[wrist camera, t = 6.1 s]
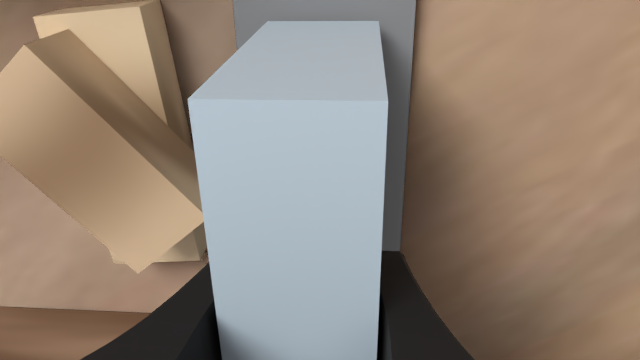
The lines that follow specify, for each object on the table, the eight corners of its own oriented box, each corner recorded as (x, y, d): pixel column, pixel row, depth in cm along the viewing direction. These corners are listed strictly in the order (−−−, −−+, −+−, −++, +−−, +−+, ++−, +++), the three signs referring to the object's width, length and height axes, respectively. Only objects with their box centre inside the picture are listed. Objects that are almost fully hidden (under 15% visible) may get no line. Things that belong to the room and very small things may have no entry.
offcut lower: (216, 228, 19) (200, 260, 17) (137, 231, 19) (113, 263, 17) (166, -3, 15) (138, 6, 14) (70, 6, 16) (32, 16, 14)
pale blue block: (367, 335, 19) (368, 543, 12) (285, 331, 19) (245, 533, 13) (378, 20, 14) (387, 101, 8) (267, 21, 14) (187, 99, 8)
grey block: (392, 354, 20) (392, 361, 20) (264, 347, 20) (262, 355, 20) (417, -38, 14) (418, -37, 13) (233, -36, 14) (229, -35, 14)
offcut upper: (226, 184, 16) (208, 218, 14) (163, 236, 17) (138, 273, 15) (68, 28, 14) (24, 44, 12) (9, 97, 15) (-40, 121, 13)
